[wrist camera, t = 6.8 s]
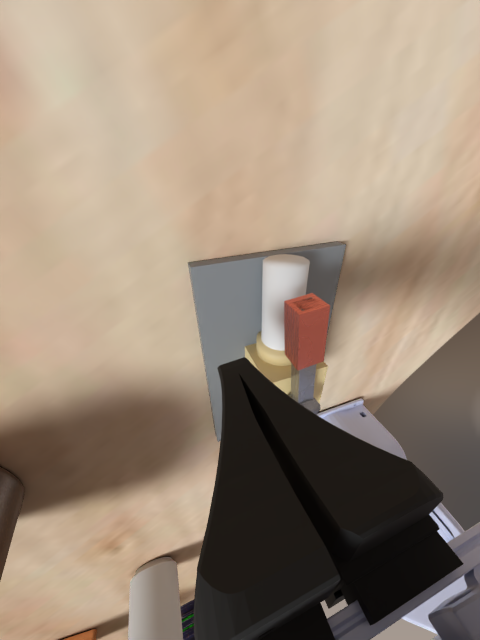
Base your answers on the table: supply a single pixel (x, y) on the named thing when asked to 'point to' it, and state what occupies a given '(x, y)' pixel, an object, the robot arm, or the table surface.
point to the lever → (305, 345)
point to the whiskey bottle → (84, 636)
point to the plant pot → (8, 511)
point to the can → (155, 602)
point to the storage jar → (188, 620)
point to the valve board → (258, 309)
